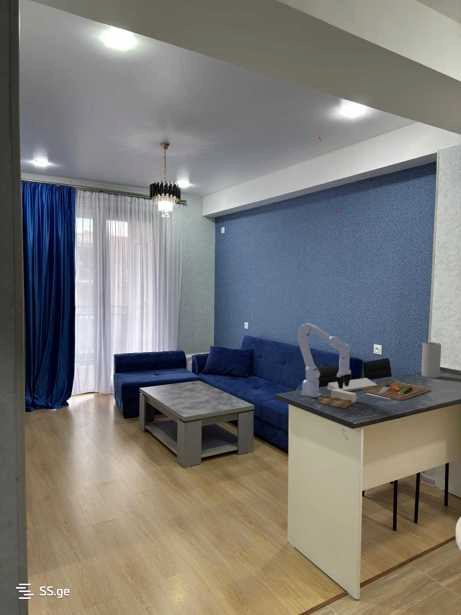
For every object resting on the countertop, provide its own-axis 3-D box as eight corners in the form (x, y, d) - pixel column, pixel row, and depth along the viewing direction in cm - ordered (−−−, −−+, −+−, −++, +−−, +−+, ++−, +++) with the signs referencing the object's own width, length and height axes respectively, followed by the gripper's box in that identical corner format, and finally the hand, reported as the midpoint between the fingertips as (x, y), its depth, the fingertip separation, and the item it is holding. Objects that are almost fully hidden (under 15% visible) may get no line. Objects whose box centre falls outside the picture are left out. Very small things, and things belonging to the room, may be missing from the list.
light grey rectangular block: (331, 398, 244) (331, 389, 243) (334, 397, 247) (334, 388, 246) (352, 403, 234) (352, 394, 234) (356, 401, 237) (356, 393, 236)
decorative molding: (375, 391, 272) (364, 384, 281) (377, 384, 271) (366, 377, 279) (337, 397, 256) (326, 389, 265) (338, 390, 255) (328, 382, 263)
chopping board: (399, 402, 237) (399, 397, 237) (358, 393, 258) (358, 388, 258) (433, 390, 266) (434, 386, 266) (394, 382, 287) (395, 378, 287)
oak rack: (318, 402, 233) (318, 397, 233) (325, 399, 240) (325, 394, 240) (344, 408, 223) (344, 403, 223) (351, 404, 230) (351, 399, 230)
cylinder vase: (443, 378, 302) (444, 344, 301) (427, 378, 300) (429, 344, 299) (432, 374, 314) (434, 342, 313) (417, 374, 313) (419, 342, 311)
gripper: (345, 367, 231) (344, 390, 231) (355, 363, 242) (355, 386, 242) (333, 365, 235) (333, 388, 236) (344, 362, 246) (344, 384, 247)
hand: (343, 387), depth 240 cm, fingers open, 7 cm apart
